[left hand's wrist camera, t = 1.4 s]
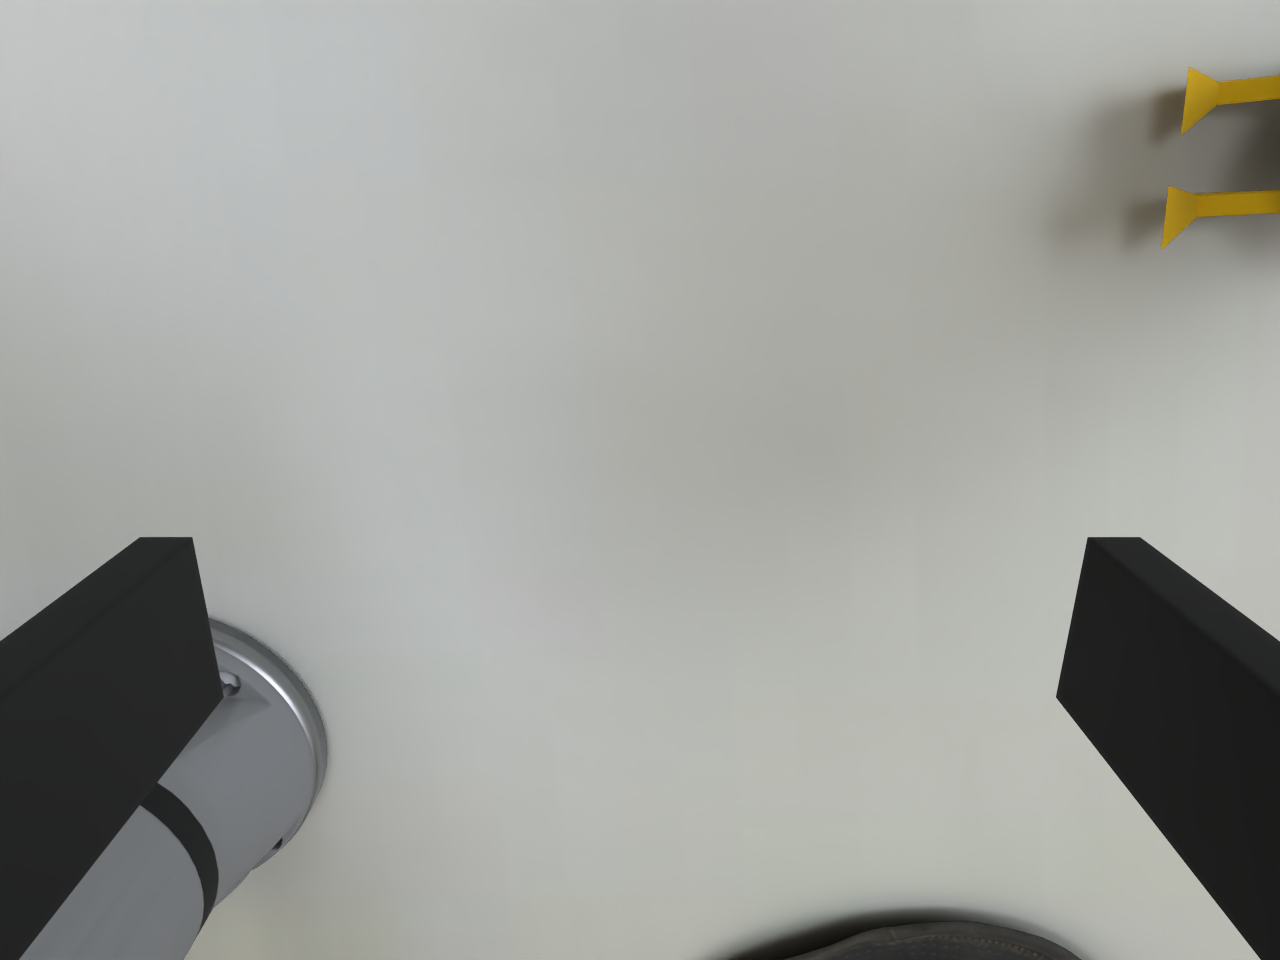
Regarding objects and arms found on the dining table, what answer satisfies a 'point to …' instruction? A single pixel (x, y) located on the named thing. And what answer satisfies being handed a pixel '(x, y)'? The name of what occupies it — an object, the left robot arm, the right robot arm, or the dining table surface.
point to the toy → (1192, 205)
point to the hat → (941, 944)
